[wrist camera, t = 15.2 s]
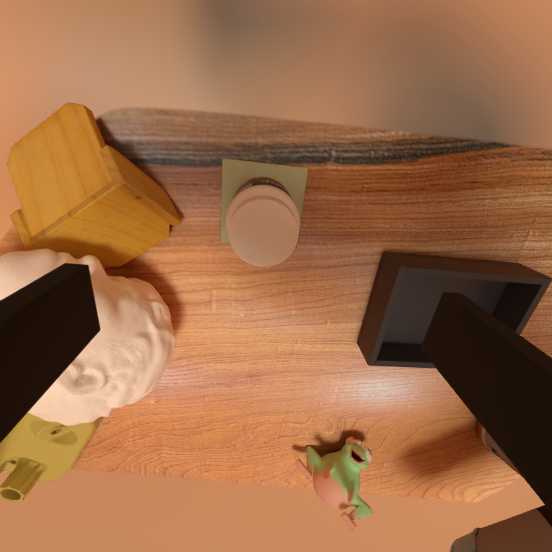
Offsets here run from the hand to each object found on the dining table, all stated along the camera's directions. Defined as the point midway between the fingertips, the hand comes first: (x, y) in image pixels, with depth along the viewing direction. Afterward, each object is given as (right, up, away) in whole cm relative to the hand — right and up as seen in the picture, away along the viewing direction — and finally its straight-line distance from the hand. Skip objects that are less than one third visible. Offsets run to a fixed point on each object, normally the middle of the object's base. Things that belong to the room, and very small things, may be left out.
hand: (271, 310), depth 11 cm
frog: (+7, -31, +28) cm, 42 cm away
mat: (-1, +8, +17) cm, 19 cm away
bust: (-22, -10, +13) cm, 27 cm away
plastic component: (-27, -25, +27) cm, 45 cm away
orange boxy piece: (-15, +5, +13) cm, 20 cm away
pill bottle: (-1, +8, +17) cm, 19 cm away
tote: (+20, -2, +23) cm, 31 cm away
